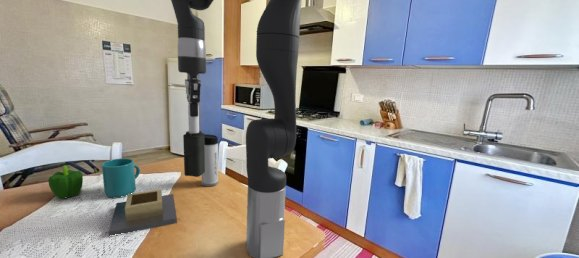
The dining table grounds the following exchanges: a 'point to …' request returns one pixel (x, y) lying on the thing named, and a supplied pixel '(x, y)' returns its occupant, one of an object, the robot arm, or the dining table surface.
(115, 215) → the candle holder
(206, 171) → the travel mug
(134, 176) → the cup
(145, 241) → the dining table surface
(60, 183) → the bell pepper
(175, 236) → the dining table surface
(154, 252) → the dining table surface
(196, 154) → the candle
